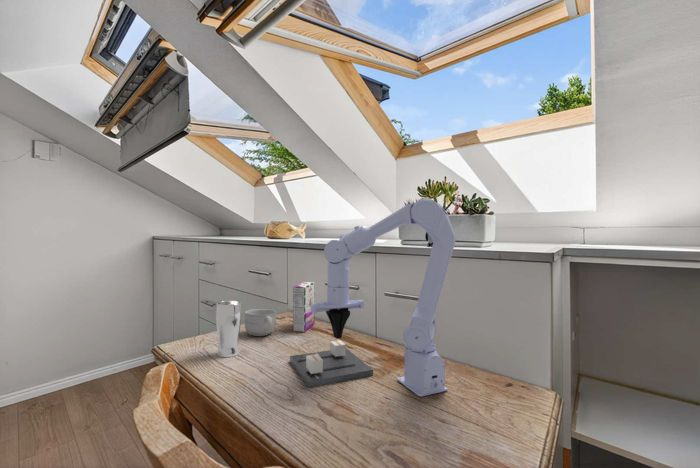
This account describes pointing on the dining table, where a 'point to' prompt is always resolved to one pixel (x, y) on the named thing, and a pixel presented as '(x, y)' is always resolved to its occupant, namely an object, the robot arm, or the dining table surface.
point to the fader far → (337, 348)
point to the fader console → (331, 368)
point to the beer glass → (228, 327)
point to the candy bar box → (303, 306)
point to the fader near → (314, 363)
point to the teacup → (260, 321)
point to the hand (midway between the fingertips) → (337, 337)
